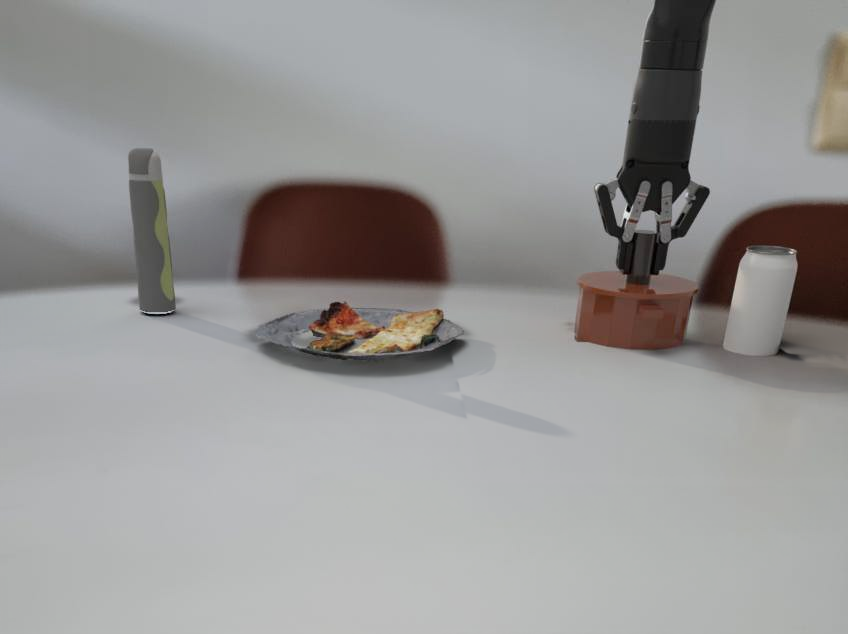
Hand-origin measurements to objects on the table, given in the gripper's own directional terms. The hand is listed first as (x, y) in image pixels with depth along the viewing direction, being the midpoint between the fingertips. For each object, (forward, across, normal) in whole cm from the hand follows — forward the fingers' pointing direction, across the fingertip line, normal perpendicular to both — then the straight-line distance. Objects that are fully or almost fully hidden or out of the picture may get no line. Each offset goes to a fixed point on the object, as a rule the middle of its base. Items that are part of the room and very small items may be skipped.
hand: (638, 273), depth 120 cm
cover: (+2, 0, 0) cm, 2 cm away
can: (+8, -14, +6) cm, 17 cm away
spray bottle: (+8, +62, -10) cm, 63 cm away
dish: (+8, 0, 0) cm, 8 cm away
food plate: (+8, +34, +6) cm, 36 cm away
